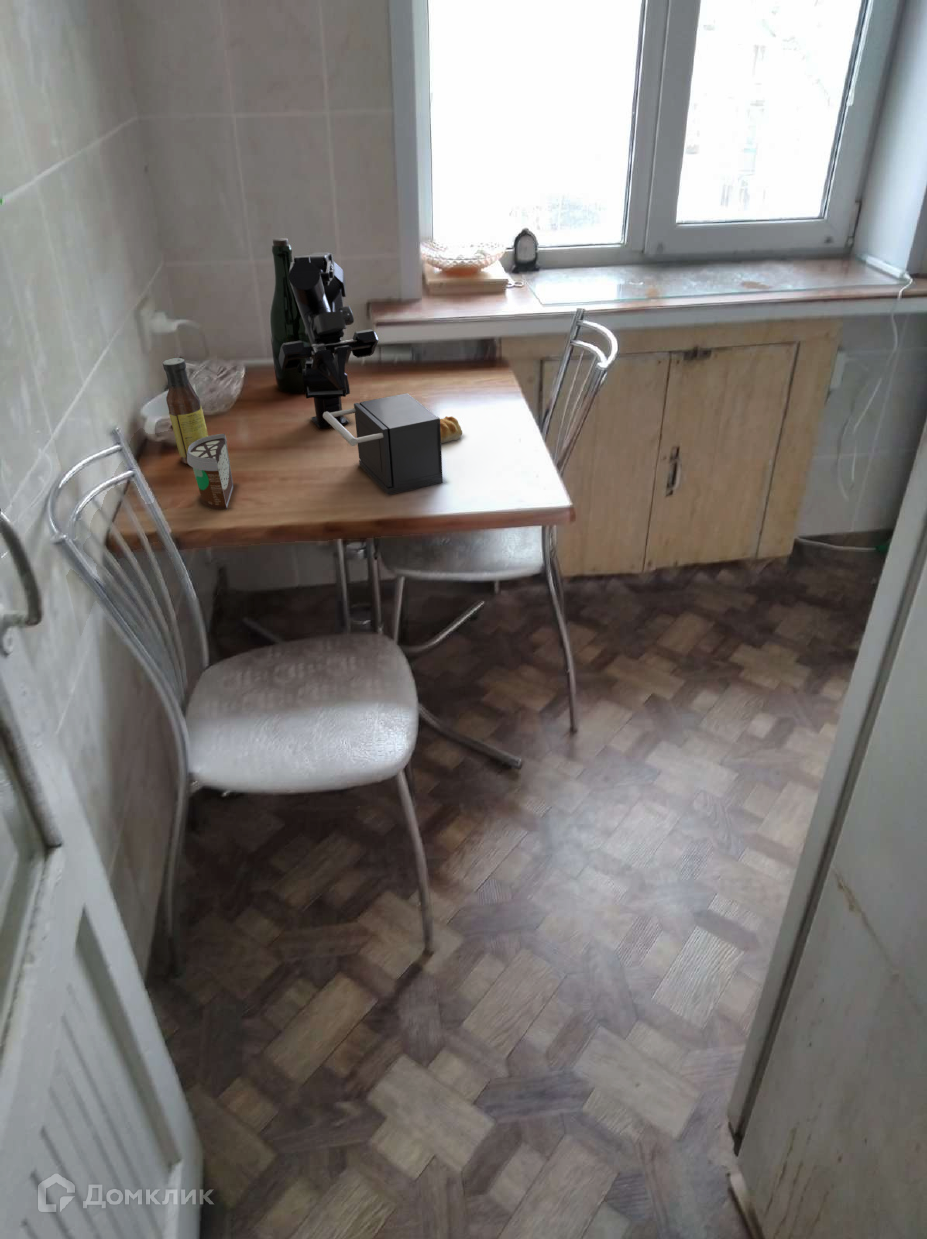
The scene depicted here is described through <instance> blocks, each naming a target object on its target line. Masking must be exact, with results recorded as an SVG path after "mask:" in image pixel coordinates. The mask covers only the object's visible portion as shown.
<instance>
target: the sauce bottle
mask: <svg viewBox="0 0 927 1239" xmlns="http://www.w3.org/2000/svg"><path fill="white" fill-rule="evenodd" d="M162 367H163V370H164V371H165V374H166V379H167V385H168V389H167V395H166V397H165V400H166V405H167V409H168V414H169V418H170V419H169V420H170V422H171V427H172V430H173V431H172V432H173V434H174V438H175V443H176V446H177V450H178V454H179V456H180V459H181V462H182V463H183V464H186V465H189V464H188V463H187V452H188V448H189V446H190V445H191V444H192V443H193V442H195V441H197V440H199V439H201V438H204V437H207V436H209V432H208V428H207V424H206V420H205V415H204V411H203V407H202V403H201V400H200V398H199V396H198V395H197V394H198V393H196V391H195V389H194V387H193V385H192V384H191V382H190V380H189V376H188V372H187V364H186V361H185V359H184V358H180V357H174V358H169V359H166V360H164V361H163V362H162Z"/></svg>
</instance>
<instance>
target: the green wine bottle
mask: <svg viewBox="0 0 927 1239" xmlns="http://www.w3.org/2000/svg"><path fill="white" fill-rule="evenodd" d="M270 251H271V256H272V261H273V262H272V263H273V272H274V286H273V293H272V298H271V302H270V307H269V314H268V324H269V325H268V326H269V336H270V344H271V350H272V351H271V352H272V353H271V354H272V360H273V369H274V377H275V383H276V388H278V389H279V390H280V391H282V392H284V393H287V394H303V393H304V394H305V389H304V384H303V375H302V372H303V369H305V365H306V358H302V359H299V360H300V365H299V366H298V368H296V369H290V370H282V368H281V365H280V363H279V354H280V349H281V346H282V344H283V343H288V342H294V341H301V342H302V343H303V345H304V347H309V346H312V345H311V343H310V340H309V337H308V336H306V333H305V329H306V328H305V325H304V322H303V319H302V317H301V314H300V311H299V308H298V305H297V302H296V298H295V296H294V293H293V290H292V287H291V284H290V281H289V276H288V274H289V270H290V265H291V262H294V257H293V247H292V245H291V244H290V243H289V238H287V237H276V238H275V237H274V238H273V239H272V245H271V250H270Z"/></svg>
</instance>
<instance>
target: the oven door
mask: <svg viewBox="0 0 927 1239" xmlns="http://www.w3.org/2000/svg"><path fill="white" fill-rule="evenodd" d="M352 414H354V421H355V430H356V437H355V436H354V435H353V434H352V433H351V432H350V431H349V430H348V429H347V428H346V427H344V426H343V425H341V424H340V423H339V422H338V421H337V420H336V419H335V418H334V417H337V416H342V415H343V416H346V415H347V416H348V415H352ZM323 418H324V419H325V420H326V421H327V422H328V423H329V424H330V425H331V426H332V427H331V428H333V429H334V430H335V431H336V432H337V433H338V434H339V435H340V436H341V437H342V438H343V439H344V440H345V441H346V442H347V443H348V444H349V445H350V446H351V447H356V445H357V452H358V460H361V461H362V462H363V463H364V464H365V465H366V466H367V467H368V468H369V469H370V470H371V471H372V472H373V473H374V474H375V475H376V476H377V477H378V478H379V479H380V480H381V481H382V482H383V483H384V484H385V485H386V486H387V487H391V486H392V479H391V466H390V453H389V440H388V429H387V428H386V427H385V426H384V425H383V424H382V423H380V422H379V421H378V420H377V419H376V418H375V417H374V416H372V415H371V414H370V413H369V412H368V411H367V410H366V409H365V408H363V407H362V406H361V405H360V402H355V403H353V408H348V409H342V411H337V412H331V413H329V412H324V413H323Z"/></svg>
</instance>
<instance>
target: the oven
mask: <svg viewBox="0 0 927 1239" xmlns="http://www.w3.org/2000/svg"><path fill="white" fill-rule="evenodd" d="M359 404H360V405H361V406H362V407H363V408H365V409H366V410H367V411H368V412H369V413H370V414H371V415H372V416H374V417H375V418H376V419H377V420H378V421H379V422H380V423H382V424H383V425H384V426H385V427H386V428H387V429H388V440H389V453H390V466H391V479H392V486H391V487H387V486H386V485H385V484H384V483H383V482H382V481H381V480H380V479H379V478H378V477H377V476H376V475H375V474H374V473H373V472H372V471H371V470H370V469H369V468H368V467H367V466H366V465H365V464H364V463H363V462H362V461H361V460H360V459H358V464H359V466H360V468H361V469H362V470H363V471H364V472H365V473H366V474H367V475H368V476H369V477H370V478H371V479H372V480H373V481H374V482H375V483H376V485H378V486H379V487H380V488H381V489H382V490H383V492H385V493H386V494H387V495H388V496H392V495H395V494H399V493H403V492H408V491H411V490H417V489H421V488H425V487H430V486H434V485H439V484H443V483H444V478H443V458H442V456H443V455H442V443H441V431H440V419H441V418H440V417H439V416H437V415H436V414H435V413H434V412H432V411H431V410H430V409H428V408H427V407H426V406H425V405H423V404H422V403H421V402H420V401H418V400H417V399H416V398H414V397H413V396H412V395H410V394H409V393H407V392H406V393H401V394H397V395H389V396H387V397H386V396H385V397H379V398H374V399H370V400H365V401H364V400H363V401H359Z"/></svg>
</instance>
